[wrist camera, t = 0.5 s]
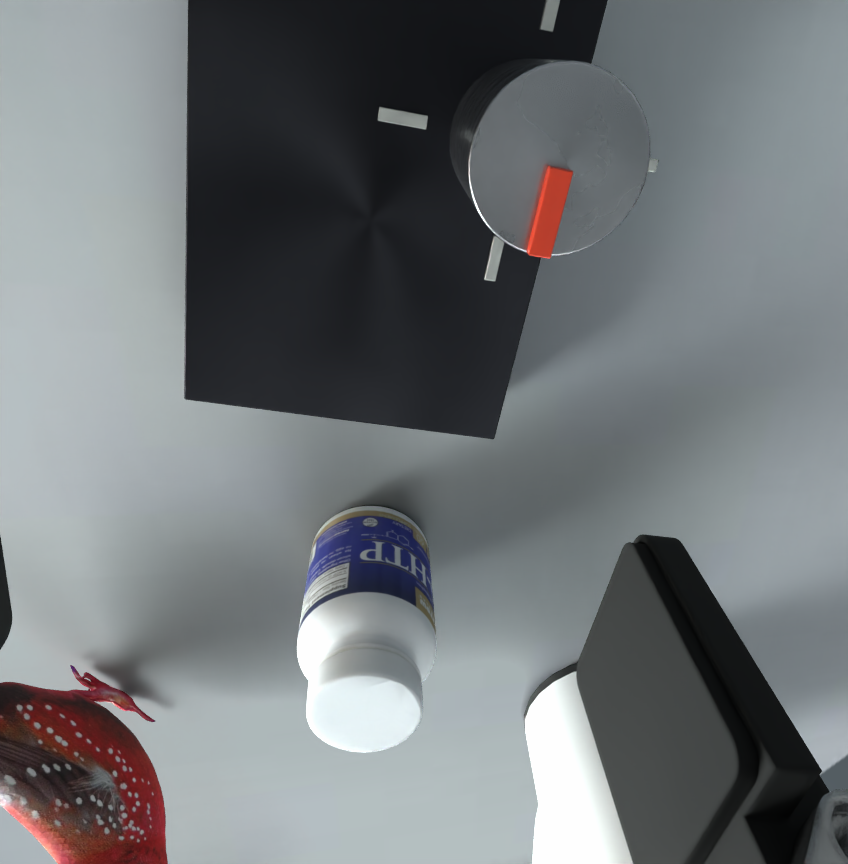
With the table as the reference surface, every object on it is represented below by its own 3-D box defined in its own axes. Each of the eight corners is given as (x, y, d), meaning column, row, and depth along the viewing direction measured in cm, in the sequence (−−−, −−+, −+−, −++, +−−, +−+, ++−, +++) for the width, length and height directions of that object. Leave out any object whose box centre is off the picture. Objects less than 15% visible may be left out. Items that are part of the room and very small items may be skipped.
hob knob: (465, 44, 19) (492, 42, 14) (610, 74, 19) (683, 82, 15) (437, 201, 21) (453, 245, 16) (569, 224, 21) (621, 272, 17)
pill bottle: (452, 542, 31) (475, 707, 23) (378, 610, 33) (377, 784, 25) (360, 480, 29) (352, 636, 21) (287, 556, 31) (255, 726, 23)
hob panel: (215, -91, 19) (187, -115, 17) (666, 9, 21) (709, 3, 18) (203, 364, 26) (182, 401, 23) (547, 411, 28) (566, 451, 25)
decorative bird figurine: (197, 763, 37) (140, 980, 29) (-107, 575, 30) (-306, 789, 21) (234, 740, 37) (188, 955, 28) (-68, 541, 29) (-259, 748, 21)
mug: (616, 623, 34) (700, 829, 25) (709, 706, 37) (813, 913, 28) (453, 730, 37) (475, 945, 28) (552, 797, 41) (600, 1009, 32)
